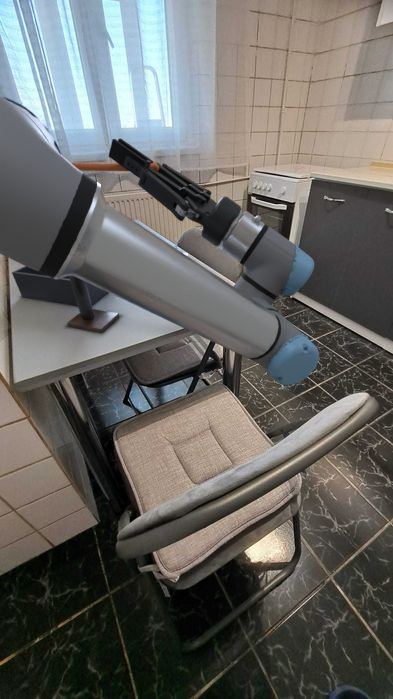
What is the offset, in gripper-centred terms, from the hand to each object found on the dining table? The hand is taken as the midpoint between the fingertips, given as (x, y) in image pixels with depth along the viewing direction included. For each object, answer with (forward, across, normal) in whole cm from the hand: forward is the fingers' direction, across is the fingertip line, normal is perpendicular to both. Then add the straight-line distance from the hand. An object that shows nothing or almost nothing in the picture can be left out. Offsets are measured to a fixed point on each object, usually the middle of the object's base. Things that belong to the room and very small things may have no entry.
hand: (114, 147), depth 49 cm
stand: (-6, 0, +39) cm, 39 cm away
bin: (+9, -14, +48) cm, 50 cm away
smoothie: (-18, -25, +32) cm, 45 cm away
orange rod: (0, 0, +4) cm, 4 cm away
